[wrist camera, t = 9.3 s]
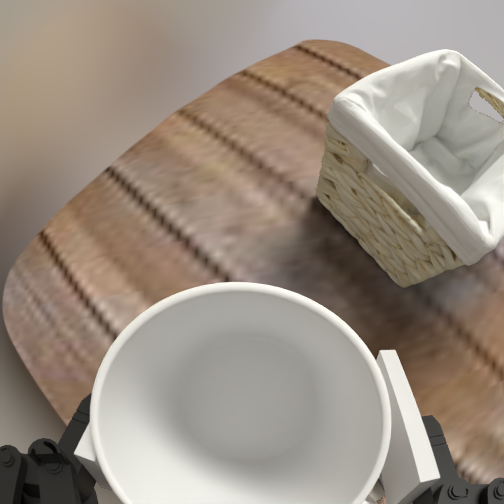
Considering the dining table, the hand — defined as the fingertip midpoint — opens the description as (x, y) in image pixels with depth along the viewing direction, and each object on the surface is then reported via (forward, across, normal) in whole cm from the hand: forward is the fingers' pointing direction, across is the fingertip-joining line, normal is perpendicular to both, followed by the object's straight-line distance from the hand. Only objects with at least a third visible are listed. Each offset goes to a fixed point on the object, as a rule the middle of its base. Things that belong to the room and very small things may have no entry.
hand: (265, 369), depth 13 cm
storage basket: (+25, -17, -3) cm, 31 cm away
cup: (+1, -1, +5) cm, 5 cm away
